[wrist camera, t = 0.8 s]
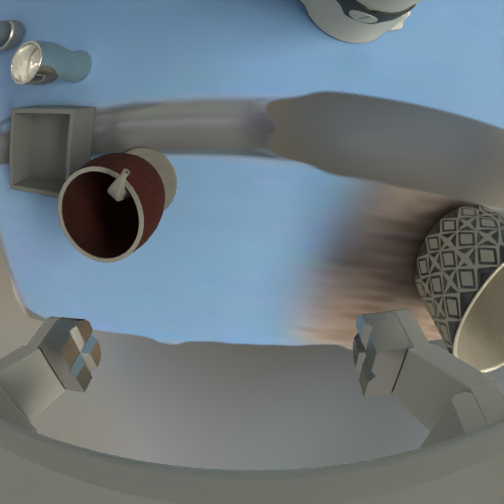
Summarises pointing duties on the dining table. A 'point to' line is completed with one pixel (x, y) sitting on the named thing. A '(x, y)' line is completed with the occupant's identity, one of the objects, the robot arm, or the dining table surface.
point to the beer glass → (48, 64)
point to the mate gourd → (116, 202)
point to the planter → (466, 284)
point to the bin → (48, 146)
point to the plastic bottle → (10, 34)
